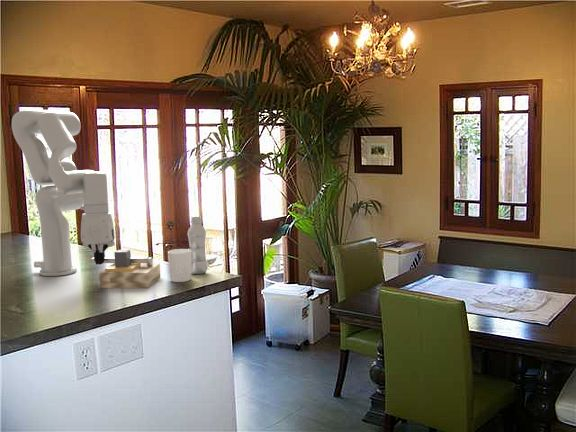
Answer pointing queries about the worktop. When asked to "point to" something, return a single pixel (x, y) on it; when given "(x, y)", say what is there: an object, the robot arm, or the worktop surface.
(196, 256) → the plastic bottle
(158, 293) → the worktop surface
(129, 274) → the socket block
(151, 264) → the silver rod
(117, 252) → the plug
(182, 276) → the white cup
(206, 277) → the worktop surface
